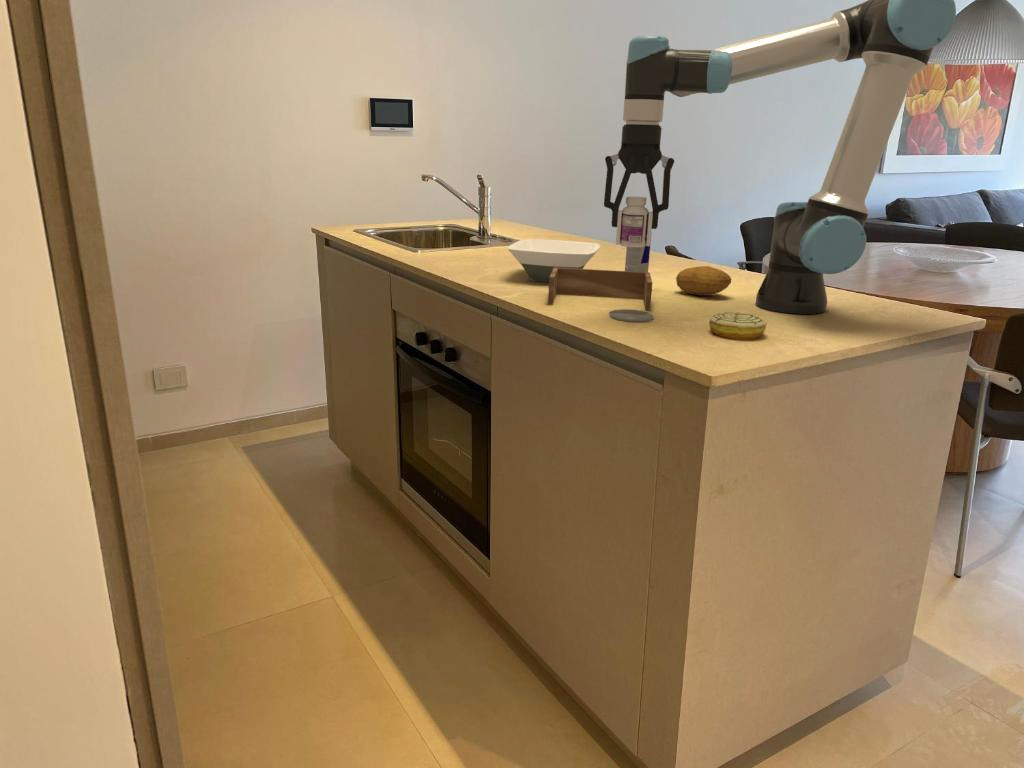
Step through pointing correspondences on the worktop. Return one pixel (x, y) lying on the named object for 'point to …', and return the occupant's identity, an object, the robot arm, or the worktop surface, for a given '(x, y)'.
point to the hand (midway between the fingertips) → (632, 244)
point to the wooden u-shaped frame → (600, 284)
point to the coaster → (631, 315)
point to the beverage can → (637, 259)
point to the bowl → (551, 256)
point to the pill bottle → (634, 223)
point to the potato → (703, 280)
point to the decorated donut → (737, 325)
